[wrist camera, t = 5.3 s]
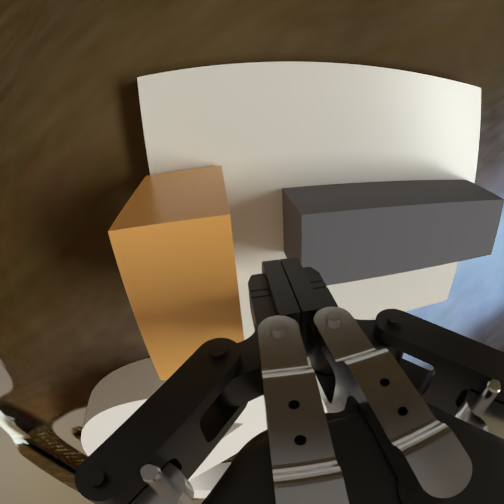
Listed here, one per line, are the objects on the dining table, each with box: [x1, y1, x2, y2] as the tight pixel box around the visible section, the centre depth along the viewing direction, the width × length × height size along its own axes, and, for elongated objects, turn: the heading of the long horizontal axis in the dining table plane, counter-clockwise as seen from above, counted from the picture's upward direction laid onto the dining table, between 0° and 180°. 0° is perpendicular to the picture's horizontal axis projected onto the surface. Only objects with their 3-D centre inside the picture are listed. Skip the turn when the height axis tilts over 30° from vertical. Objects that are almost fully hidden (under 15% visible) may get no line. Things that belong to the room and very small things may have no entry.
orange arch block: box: [108, 165, 244, 380], centre depth 14 cm, size 7×4×7 cm, turn 4°
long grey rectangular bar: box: [282, 180, 504, 286], centre depth 17 cm, size 4×14×4 cm, turn 94°
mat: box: [137, 62, 481, 340], centre depth 19 cm, size 18×22×2 cm
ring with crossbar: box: [81, 357, 328, 498], centre depth 29 cm, size 28×28×5 cm
